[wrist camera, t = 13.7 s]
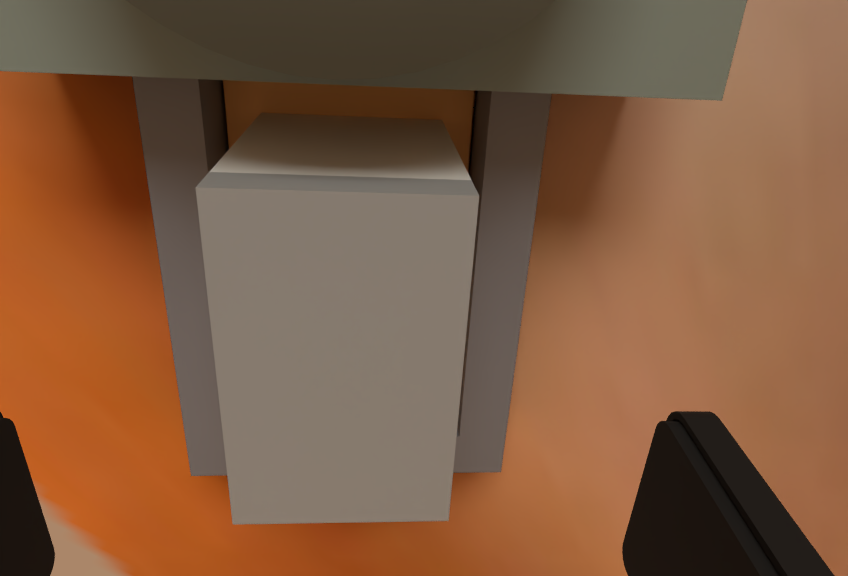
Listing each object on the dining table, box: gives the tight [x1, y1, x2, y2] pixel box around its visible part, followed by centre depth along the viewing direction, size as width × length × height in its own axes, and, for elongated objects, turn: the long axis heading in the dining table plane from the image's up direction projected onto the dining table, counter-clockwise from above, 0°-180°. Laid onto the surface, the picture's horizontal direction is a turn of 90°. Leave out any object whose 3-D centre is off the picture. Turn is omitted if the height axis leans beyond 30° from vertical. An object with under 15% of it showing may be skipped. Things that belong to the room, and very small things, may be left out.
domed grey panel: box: [0, 0, 747, 476], centre depth 14 cm, size 16×24×8 cm
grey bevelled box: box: [196, 113, 479, 524], centre depth 16 cm, size 5×8×7 cm, turn 177°
